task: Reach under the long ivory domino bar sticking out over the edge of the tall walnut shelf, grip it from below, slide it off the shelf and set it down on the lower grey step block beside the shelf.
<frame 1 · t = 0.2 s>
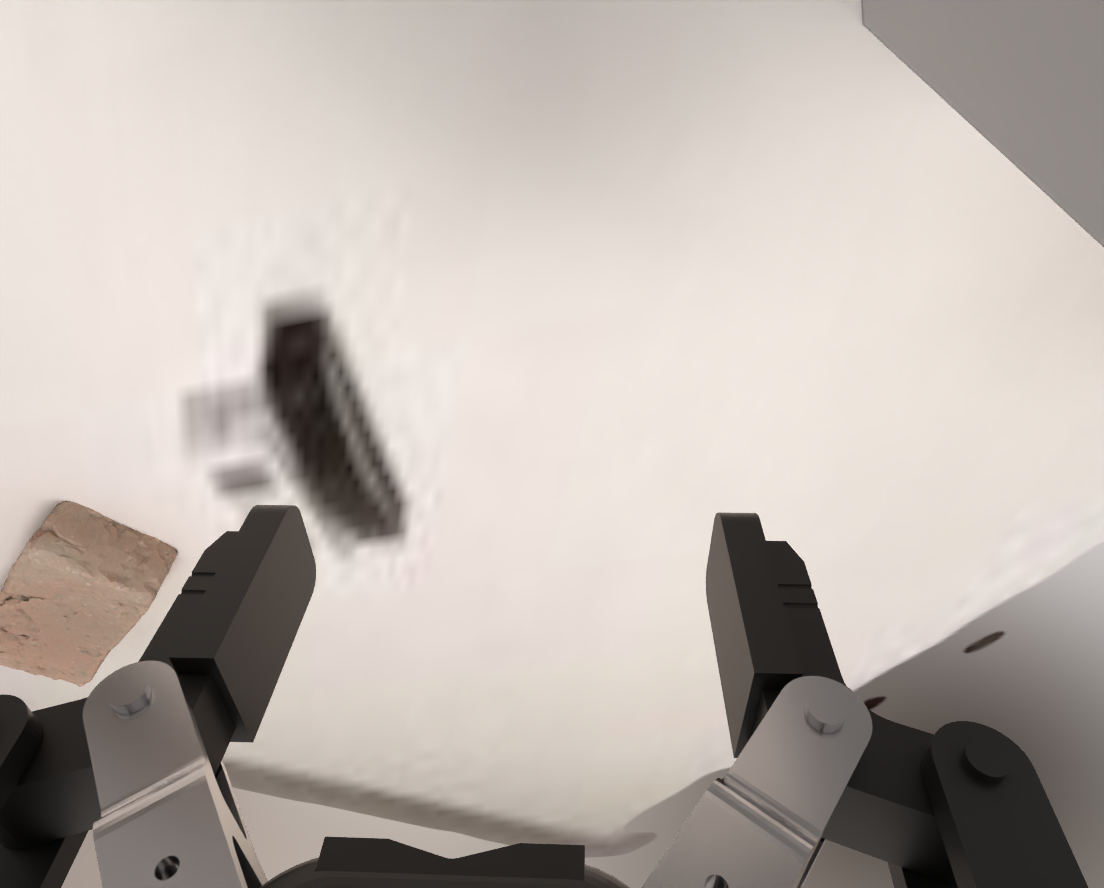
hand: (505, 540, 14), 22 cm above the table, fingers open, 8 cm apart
brick: (88, 572, 53), on the table
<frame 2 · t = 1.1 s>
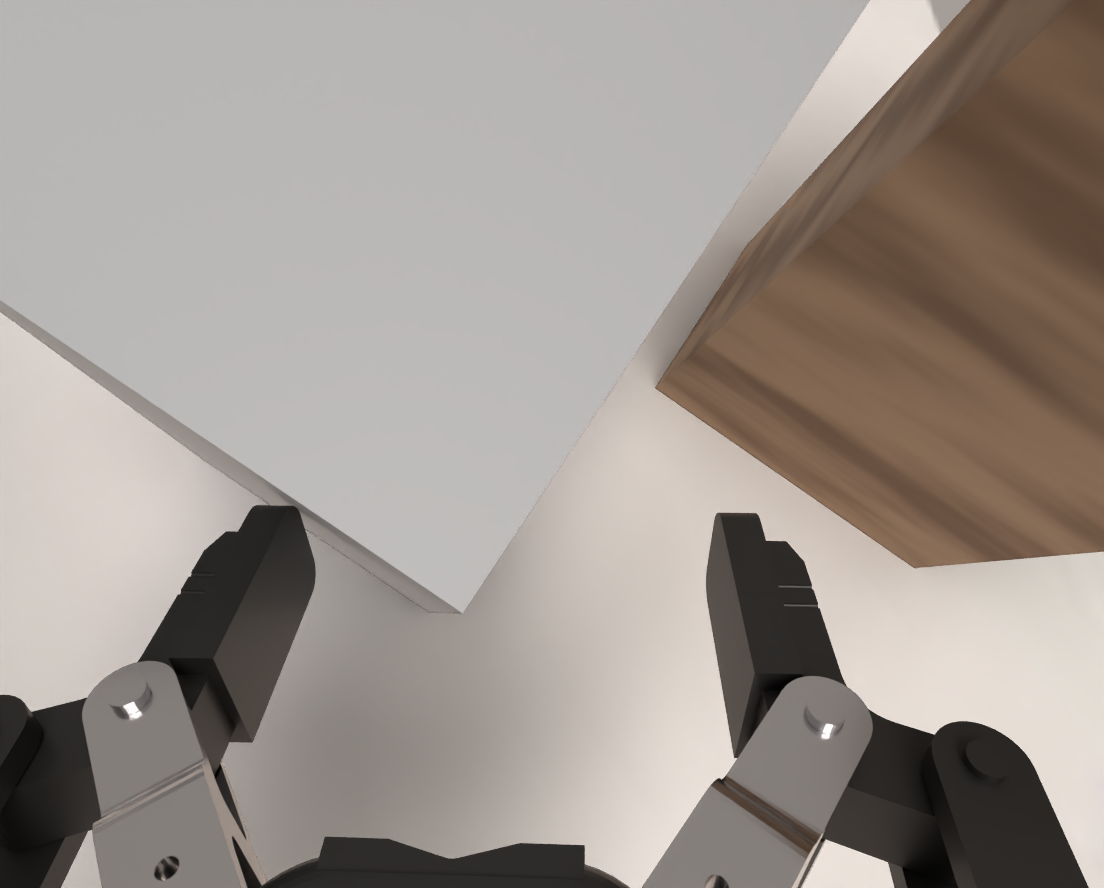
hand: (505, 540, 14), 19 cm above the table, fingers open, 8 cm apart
grey step block: (416, 402, 34), on the table
walnut shelf: (828, 401, 38), on the table
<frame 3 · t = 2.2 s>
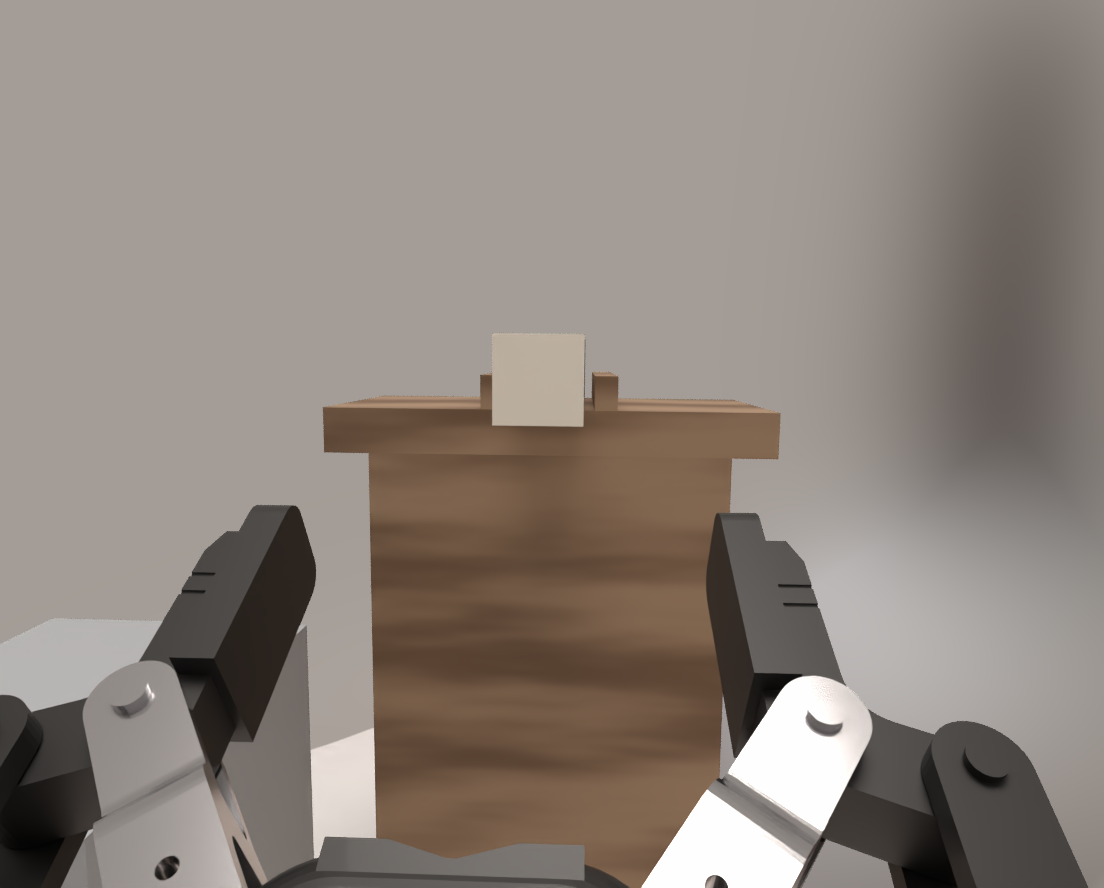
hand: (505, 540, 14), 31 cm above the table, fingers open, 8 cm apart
domino bar: (549, 407, 33), point 32 cm above the table, touching walnut shelf
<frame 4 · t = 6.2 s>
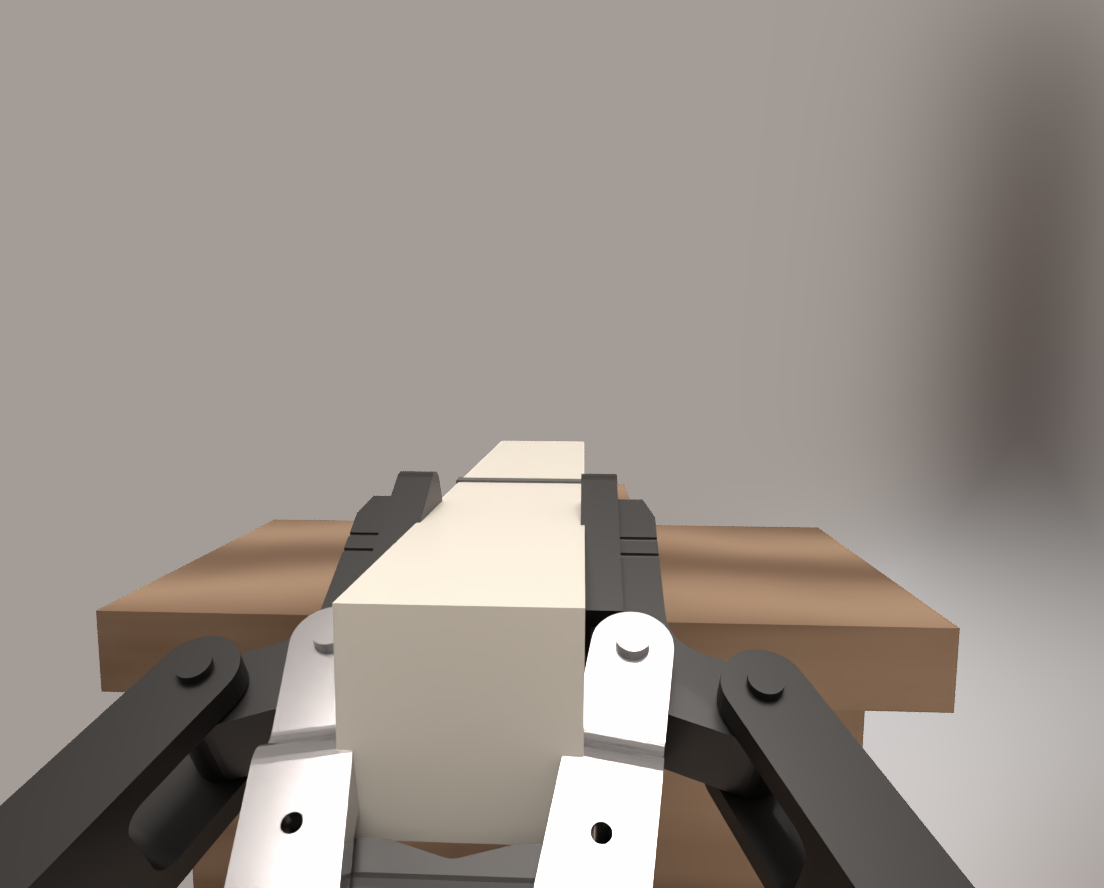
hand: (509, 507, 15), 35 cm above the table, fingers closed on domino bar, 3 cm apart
domino bar: (521, 602, 18), point 32 cm above the table, touching gripper, walnut shelf
when the fingers open (27 cm above the table, at t = 13.8 s): domino bar drops 2 cm, resting on grey step block.
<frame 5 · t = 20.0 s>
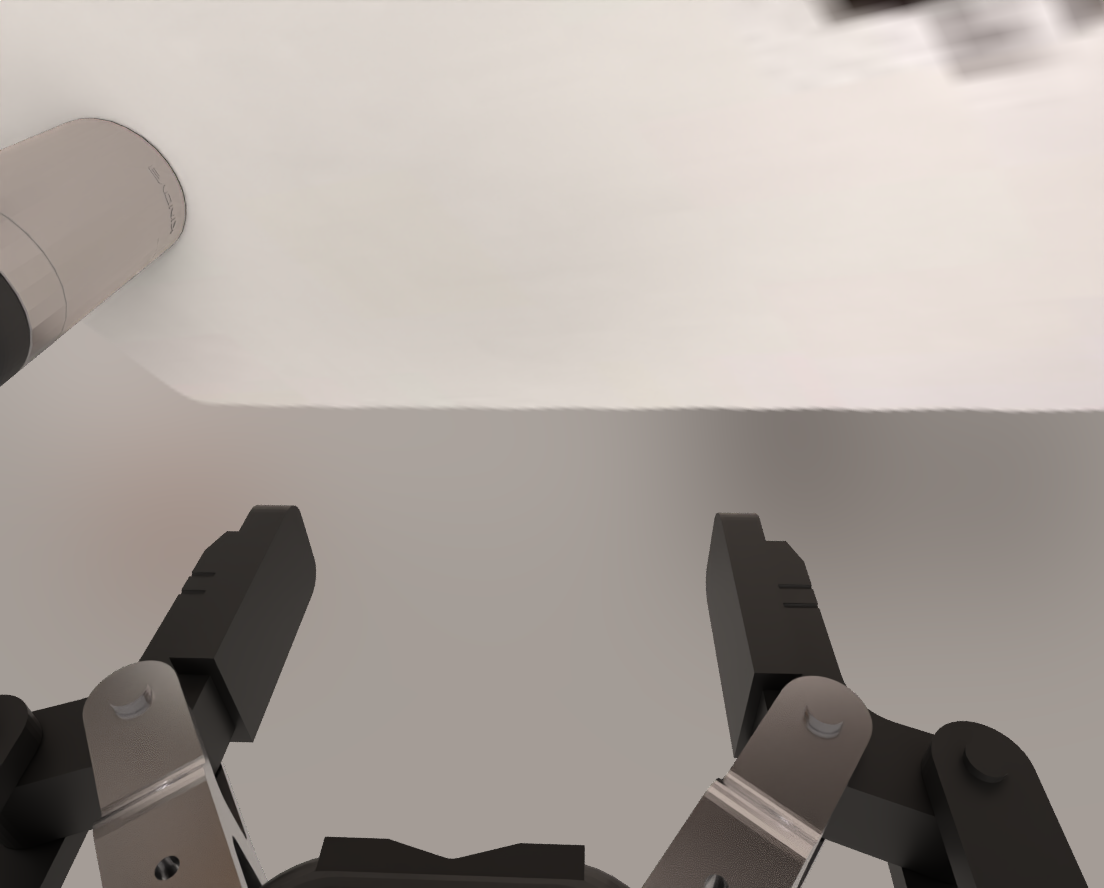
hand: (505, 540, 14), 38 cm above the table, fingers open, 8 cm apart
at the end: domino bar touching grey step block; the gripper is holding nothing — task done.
